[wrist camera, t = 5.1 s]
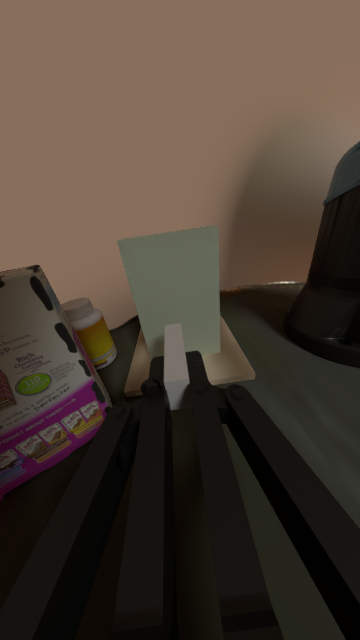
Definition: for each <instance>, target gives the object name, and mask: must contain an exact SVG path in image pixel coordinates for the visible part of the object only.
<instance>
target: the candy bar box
mask: <svg viewBox="0 0 360 640" xmlns="http://www.w3.org/2000/svg"><path fill="white" fill-rule="evenodd" d="M111 407H112V403H111V400H110V397H109V394H108V392H107V390H106V388H105V386H104V384H103V382H102V381H101V379H100V377H99V375H98V373H97V371H96V369H95V367H94V365H93V364H92V362H91V360H90V358H89V356H88V355H87V353H86V351H85V349H84V347H83V345H82V343H81V341H80V340H79V338H78V336H77V334H76V332H75V330H74V328H73V327H72V325H71V323H70V321H69V319H68V317H67V315H66V313H65V312H64V310H63V308H62V306H61V304H60V302H59V301H58V299H57V297H56V295H55V293H54V291H53V289H52V288H51V286H50V284H49V282H48V280H47V278H46V276H45V274H44V272H43V271H42V269H41V267H40V266H39V265H34V266H29V267H23V268H18V269H13V270H7V271H2V272H0V501H1V500H3V499H4V498H6V497H7V496H9V495H10V494H12V493H13V492H15V491H16V490H18V489H19V488H21V487H22V486H24V485H25V484H27V483H28V482H30V481H31V480H33V479H34V478H36V477H38V476H39V475H41V474H42V473H44V472H45V471H47V470H48V469H50V468H51V467H53V466H54V465H56V464H57V463H59V462H60V461H62V460H63V459H65V458H66V457H68V456H69V455H71V454H73V453H74V452H76V451H77V450H79V449H80V448H82V447H83V446H85V445H86V444H88V443H89V442H91V441H92V440H93V439H94V437H95V435H96V434H97V432H98V430H99V428H100V426H101V424H102V423H103V421H104V419H105V417H106V415H107V413H108V412H109V410H110V409H111Z"/></svg>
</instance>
